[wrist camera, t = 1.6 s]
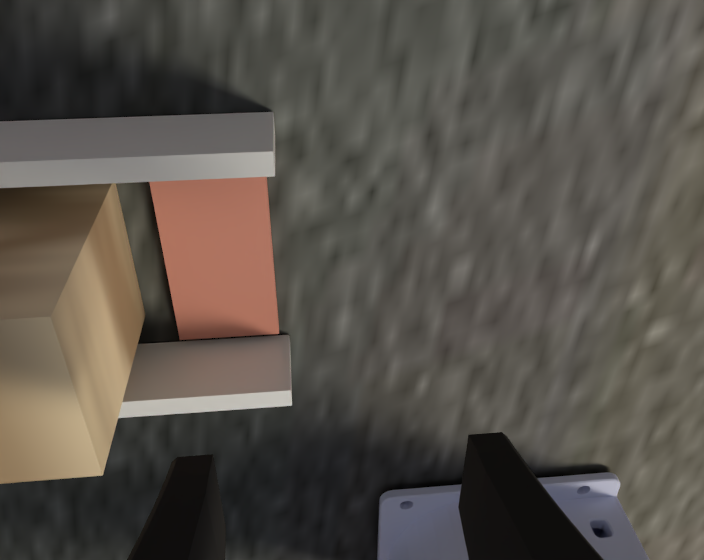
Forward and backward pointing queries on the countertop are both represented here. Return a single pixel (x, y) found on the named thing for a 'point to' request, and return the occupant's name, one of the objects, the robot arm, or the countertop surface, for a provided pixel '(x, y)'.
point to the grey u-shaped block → (184, 245)
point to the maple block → (63, 329)
